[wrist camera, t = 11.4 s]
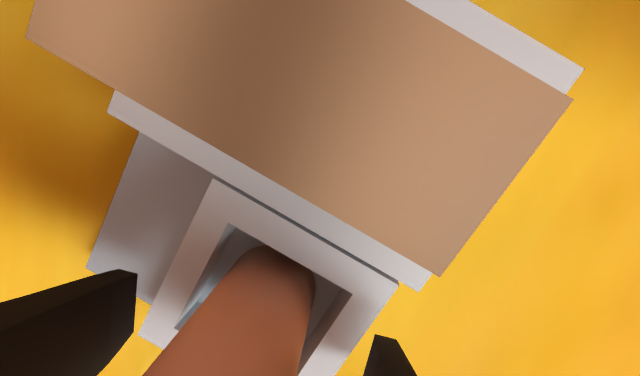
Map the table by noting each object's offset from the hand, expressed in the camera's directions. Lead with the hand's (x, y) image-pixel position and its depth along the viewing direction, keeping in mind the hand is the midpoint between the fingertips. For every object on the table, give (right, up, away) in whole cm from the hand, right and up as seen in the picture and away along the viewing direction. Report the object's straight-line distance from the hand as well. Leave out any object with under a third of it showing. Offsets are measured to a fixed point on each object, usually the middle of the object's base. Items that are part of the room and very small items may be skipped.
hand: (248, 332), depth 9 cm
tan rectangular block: (+2, +7, +1) cm, 8 cm away
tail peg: (0, +1, +3) cm, 3 cm away
